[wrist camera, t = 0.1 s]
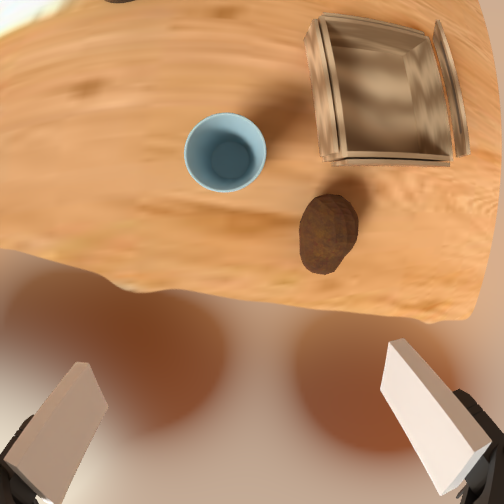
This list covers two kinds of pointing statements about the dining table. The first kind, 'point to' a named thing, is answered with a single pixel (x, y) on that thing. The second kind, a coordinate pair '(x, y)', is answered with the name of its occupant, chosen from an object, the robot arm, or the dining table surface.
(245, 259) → the dining table surface
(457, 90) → the flap
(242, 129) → the cup
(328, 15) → the carton
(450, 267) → the dining table surface
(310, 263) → the potato
